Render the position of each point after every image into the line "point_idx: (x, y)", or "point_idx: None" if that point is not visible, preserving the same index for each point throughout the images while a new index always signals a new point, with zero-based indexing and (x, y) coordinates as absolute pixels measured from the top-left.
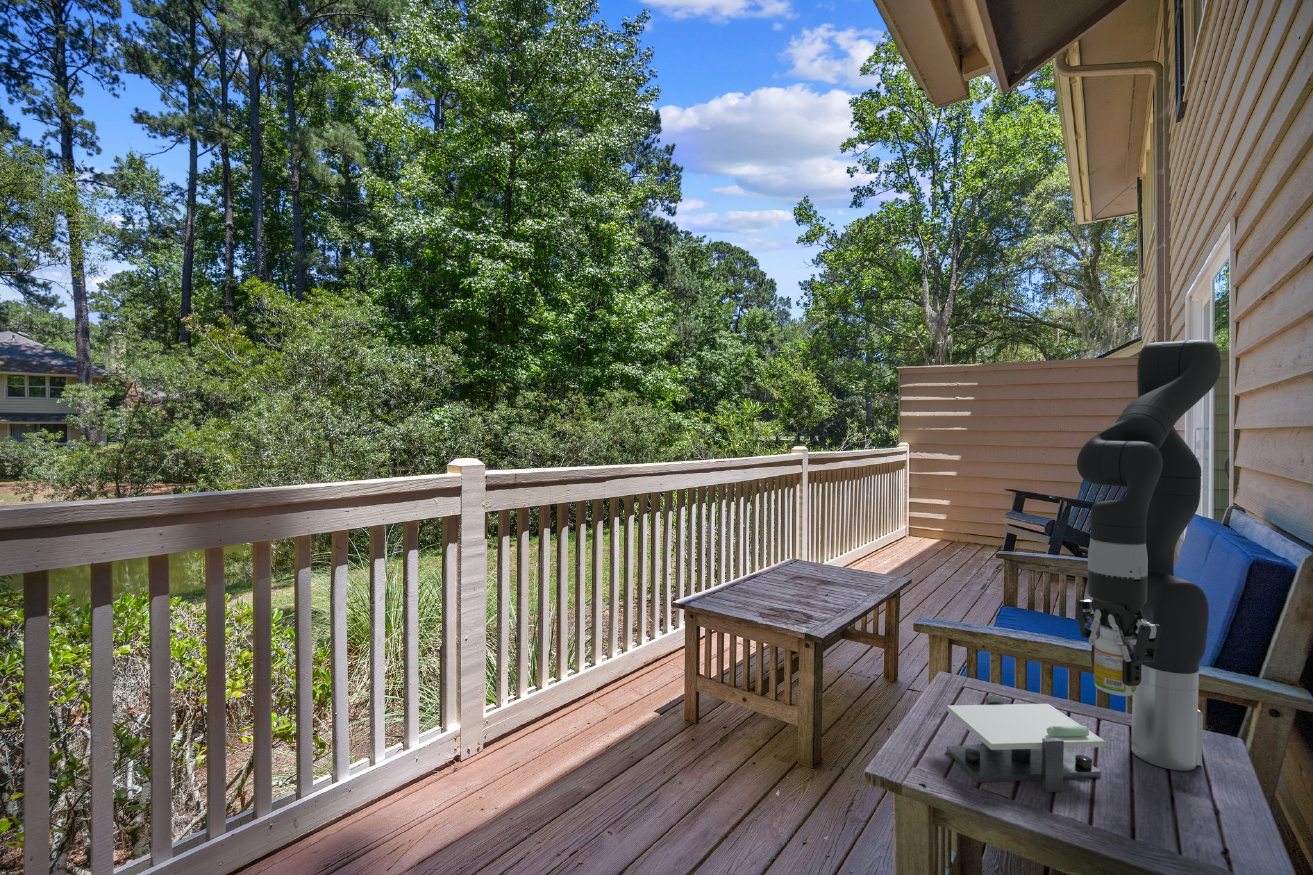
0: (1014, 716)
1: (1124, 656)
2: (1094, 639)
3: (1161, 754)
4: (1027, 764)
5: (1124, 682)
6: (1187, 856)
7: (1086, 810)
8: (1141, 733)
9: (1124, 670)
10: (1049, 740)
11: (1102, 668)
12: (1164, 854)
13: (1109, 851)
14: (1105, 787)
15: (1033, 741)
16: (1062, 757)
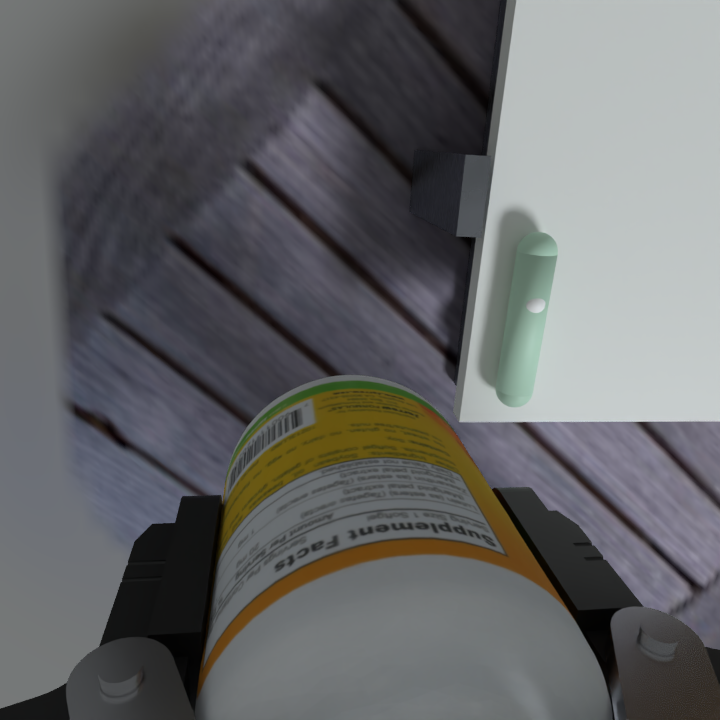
0: (697, 210)
1: (157, 673)
2: (638, 673)
3: None
4: None
5: (199, 498)
6: (94, 325)
7: (311, 209)
8: None
9: (190, 563)
10: (469, 174)
11: (340, 450)
12: (102, 270)
13: (116, 116)
14: (406, 356)
15: (508, 133)
16: (438, 222)
